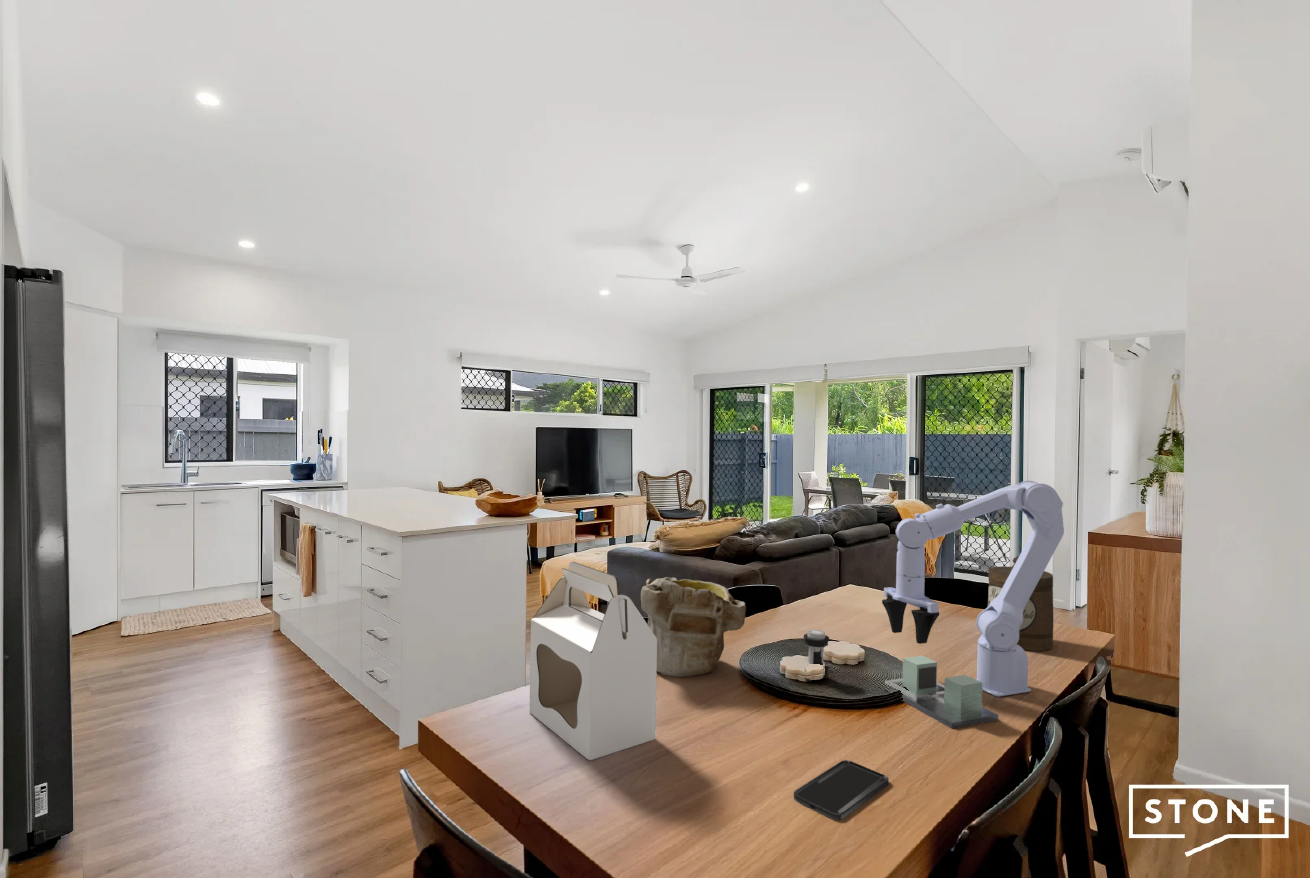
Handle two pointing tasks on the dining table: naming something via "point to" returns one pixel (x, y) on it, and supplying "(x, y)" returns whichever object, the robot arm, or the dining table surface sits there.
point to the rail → (947, 716)
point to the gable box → (593, 666)
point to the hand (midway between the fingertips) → (909, 637)
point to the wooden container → (1029, 609)
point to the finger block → (919, 675)
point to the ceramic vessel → (689, 623)
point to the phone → (841, 789)
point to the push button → (816, 647)
